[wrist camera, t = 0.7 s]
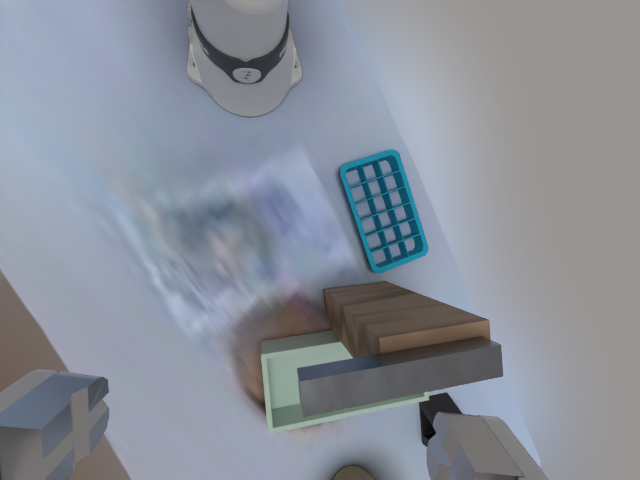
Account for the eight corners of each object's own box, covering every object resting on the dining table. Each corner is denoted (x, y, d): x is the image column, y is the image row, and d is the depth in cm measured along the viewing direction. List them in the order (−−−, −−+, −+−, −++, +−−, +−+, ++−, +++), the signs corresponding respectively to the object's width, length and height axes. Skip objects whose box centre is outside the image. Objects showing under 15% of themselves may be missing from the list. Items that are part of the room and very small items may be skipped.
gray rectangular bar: (296, 368, 27) (300, 381, 24) (481, 335, 30) (500, 344, 28) (299, 400, 27) (303, 417, 24) (483, 364, 30) (503, 376, 28)
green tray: (260, 341, 52) (260, 354, 46) (407, 318, 57) (423, 328, 51) (267, 411, 52) (268, 434, 46) (411, 383, 57) (429, 400, 51)
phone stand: (449, 436, 59) (495, 486, 47) (421, 442, 58) (462, 495, 46) (446, 392, 59) (492, 431, 47) (418, 397, 58) (459, 439, 46)
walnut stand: (323, 289, 54) (379, 337, 28) (385, 281, 56) (489, 320, 30) (326, 321, 54) (384, 399, 28) (387, 312, 56) (493, 377, 31)
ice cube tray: (390, 152, 56) (397, 147, 53) (421, 252, 58) (430, 253, 55) (333, 170, 54) (337, 166, 51) (368, 273, 56) (374, 275, 53)
